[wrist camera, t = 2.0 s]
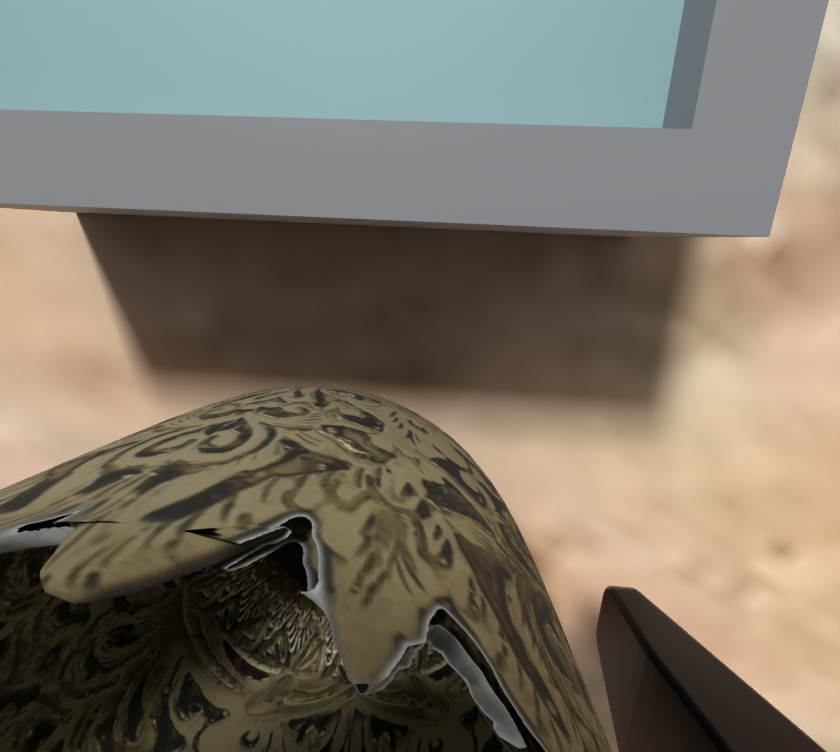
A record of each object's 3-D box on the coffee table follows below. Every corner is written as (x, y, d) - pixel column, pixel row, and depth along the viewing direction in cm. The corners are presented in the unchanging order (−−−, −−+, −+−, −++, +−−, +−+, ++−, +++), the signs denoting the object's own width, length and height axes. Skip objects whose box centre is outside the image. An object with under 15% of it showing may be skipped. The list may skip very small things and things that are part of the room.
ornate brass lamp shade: (526, 605, 11) (664, 1366, 4) (239, 601, 12) (-142, 1232, 4) (528, 301, 9) (854, 605, 2) (180, 318, 10) (-746, 585, 2)
